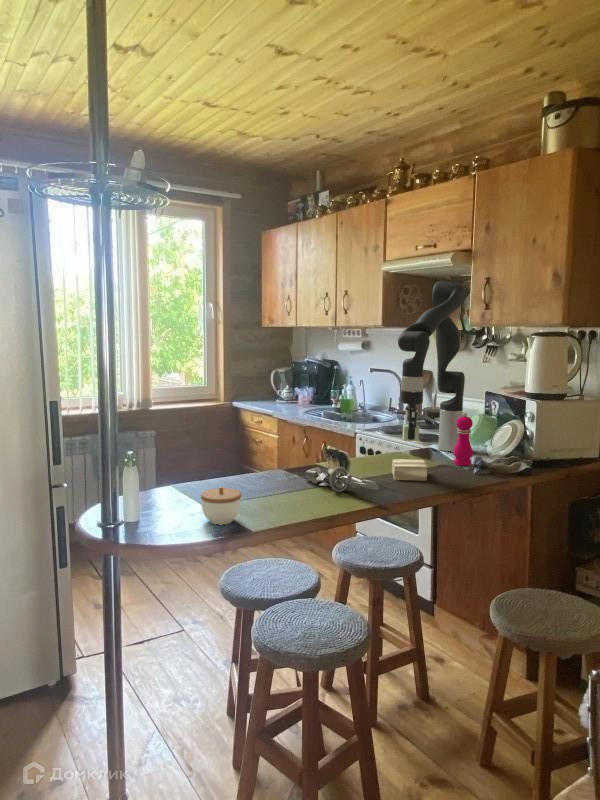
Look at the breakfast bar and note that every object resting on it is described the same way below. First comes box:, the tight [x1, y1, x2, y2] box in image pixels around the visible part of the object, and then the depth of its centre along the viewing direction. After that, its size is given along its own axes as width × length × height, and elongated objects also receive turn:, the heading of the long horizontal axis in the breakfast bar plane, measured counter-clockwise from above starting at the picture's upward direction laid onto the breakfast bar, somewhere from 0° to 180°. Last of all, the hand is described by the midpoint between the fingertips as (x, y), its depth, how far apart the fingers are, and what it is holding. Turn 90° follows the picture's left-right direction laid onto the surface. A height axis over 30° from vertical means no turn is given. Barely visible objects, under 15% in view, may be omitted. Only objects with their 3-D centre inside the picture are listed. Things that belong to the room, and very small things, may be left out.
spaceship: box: [303, 466, 380, 493], centre depth 190 cm, size 8×35×8 cm
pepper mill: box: [452, 411, 474, 467], centre depth 227 cm, size 7×7×20 cm
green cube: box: [402, 423, 420, 442], centre depth 209 cm, size 5×5×5 cm
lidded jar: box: [200, 486, 242, 526], centre depth 161 cm, size 11×11×9 cm
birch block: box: [391, 458, 428, 482], centre depth 210 cm, size 11×11×5 cm
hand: (410, 437), depth 209 cm, fingers closed on green cube, 5 cm apart
